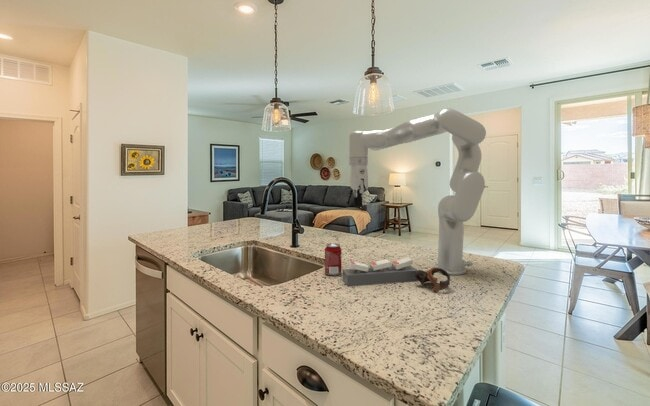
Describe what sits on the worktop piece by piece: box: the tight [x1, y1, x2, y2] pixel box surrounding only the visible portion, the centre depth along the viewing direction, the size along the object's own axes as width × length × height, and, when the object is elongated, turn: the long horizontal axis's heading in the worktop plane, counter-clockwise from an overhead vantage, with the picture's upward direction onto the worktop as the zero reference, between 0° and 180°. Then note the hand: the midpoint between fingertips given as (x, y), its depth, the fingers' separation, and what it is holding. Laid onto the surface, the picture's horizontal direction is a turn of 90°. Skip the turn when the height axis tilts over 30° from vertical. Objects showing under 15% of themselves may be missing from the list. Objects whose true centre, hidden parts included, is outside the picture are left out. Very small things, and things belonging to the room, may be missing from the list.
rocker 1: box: [347, 260, 370, 272], centre depth 113 cm, size 7×4×2 cm, turn 102°
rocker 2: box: [369, 258, 392, 270], centre depth 115 cm, size 7×4×2 cm, turn 100°
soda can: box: [324, 242, 342, 277], centre depth 123 cm, size 7×7×12 cm
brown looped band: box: [415, 266, 451, 293], centre depth 108 cm, size 12×10×8 cm
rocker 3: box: [390, 256, 414, 270], centre depth 117 cm, size 7×4×2 cm, turn 100°
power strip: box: [342, 265, 422, 287], centre depth 116 cm, size 35×7×5 cm, turn 101°
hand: (358, 206), depth 125 cm, fingers closed
